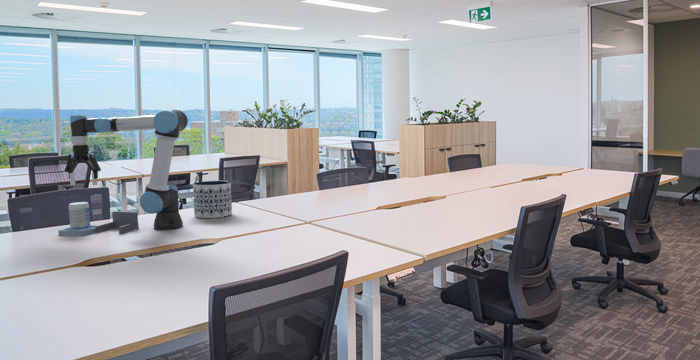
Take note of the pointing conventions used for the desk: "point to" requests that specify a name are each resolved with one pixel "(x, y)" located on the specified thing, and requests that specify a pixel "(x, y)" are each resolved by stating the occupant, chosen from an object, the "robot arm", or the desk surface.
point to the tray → (77, 233)
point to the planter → (212, 199)
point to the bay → (121, 222)
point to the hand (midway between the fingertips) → (84, 185)
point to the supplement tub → (79, 216)
